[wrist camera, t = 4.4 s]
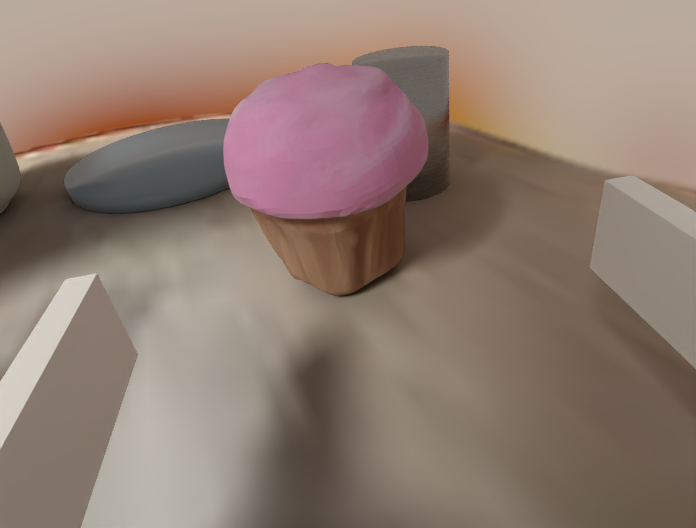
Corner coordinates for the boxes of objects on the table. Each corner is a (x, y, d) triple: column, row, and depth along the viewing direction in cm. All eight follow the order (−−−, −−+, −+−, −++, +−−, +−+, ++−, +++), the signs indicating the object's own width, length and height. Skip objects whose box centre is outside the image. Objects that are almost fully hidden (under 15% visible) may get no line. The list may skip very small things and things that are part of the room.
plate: (25, 223, 35) (17, 208, 34) (124, 141, 49) (119, 129, 48) (254, 200, 33) (250, 184, 32) (288, 122, 47) (285, 110, 46)
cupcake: (463, 255, 24) (466, 43, 19) (351, 357, 19) (310, 109, 14) (336, 215, 30) (309, 40, 24) (222, 286, 25) (156, 87, 19)
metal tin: (365, 205, 30) (350, 73, 26) (366, 170, 35) (353, 53, 31) (455, 196, 30) (455, 60, 26) (443, 162, 35) (441, 42, 30)
